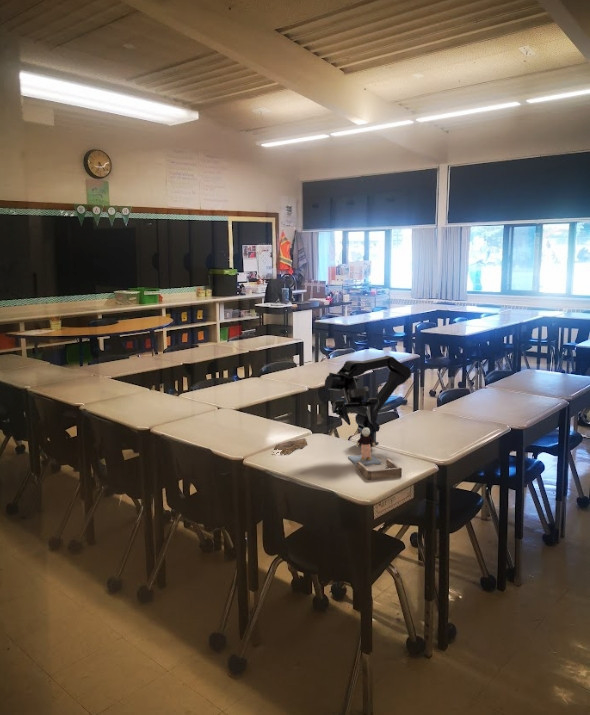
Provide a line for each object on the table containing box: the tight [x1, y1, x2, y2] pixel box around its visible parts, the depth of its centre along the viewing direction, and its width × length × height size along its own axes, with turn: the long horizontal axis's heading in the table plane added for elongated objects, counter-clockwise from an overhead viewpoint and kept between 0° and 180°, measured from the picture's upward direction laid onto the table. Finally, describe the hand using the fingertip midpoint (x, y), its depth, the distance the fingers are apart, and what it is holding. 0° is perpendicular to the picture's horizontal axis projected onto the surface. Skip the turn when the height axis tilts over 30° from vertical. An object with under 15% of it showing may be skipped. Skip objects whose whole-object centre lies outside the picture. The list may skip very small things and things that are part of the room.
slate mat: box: [347, 453, 383, 467], centre depth 234 cm, size 10×10×1 cm
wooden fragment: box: [272, 438, 309, 456], centre depth 251 cm, size 26×11×1 cm, turn 146°
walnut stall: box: [356, 458, 403, 481], centre depth 221 cm, size 11×13×3 cm
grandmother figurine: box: [355, 428, 377, 460], centre depth 233 cm, size 8×4×13 cm, turn 108°
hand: (360, 423), depth 236 cm, fingers open, 9 cm apart
